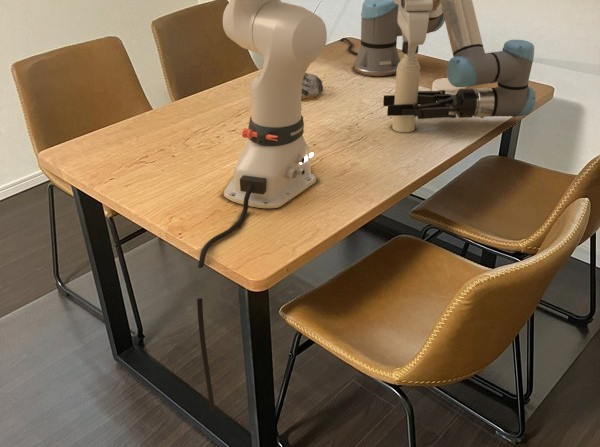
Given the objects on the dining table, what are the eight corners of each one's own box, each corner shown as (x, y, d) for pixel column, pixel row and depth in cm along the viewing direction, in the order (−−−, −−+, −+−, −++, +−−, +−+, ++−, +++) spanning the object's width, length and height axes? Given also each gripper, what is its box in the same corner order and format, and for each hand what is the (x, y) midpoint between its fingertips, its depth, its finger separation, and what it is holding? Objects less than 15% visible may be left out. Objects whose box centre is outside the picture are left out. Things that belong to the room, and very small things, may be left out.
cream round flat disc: (427, 89, 189) (428, 78, 188) (459, 87, 190) (460, 76, 188) (437, 101, 181) (438, 89, 179) (470, 99, 182) (471, 88, 180)
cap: (416, 49, 157) (416, 41, 155) (419, 54, 153) (420, 46, 152) (400, 50, 156) (401, 42, 155) (403, 54, 153) (404, 46, 152)
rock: (327, 94, 187) (327, 70, 183) (303, 102, 181) (302, 79, 177) (294, 83, 196) (293, 61, 192) (270, 91, 190) (268, 68, 186)
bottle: (396, 122, 169) (402, 42, 157) (417, 125, 167) (425, 45, 155) (389, 130, 165) (395, 48, 153) (410, 133, 162) (418, 51, 151)
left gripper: (393, -14, 156) (390, 40, 164) (406, 5, 139) (402, 65, 147) (418, -15, 157) (414, 40, 164) (434, 4, 139) (428, 65, 147)
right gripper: (481, 130, 157) (390, 133, 156) (462, 103, 173) (379, 105, 172) (486, 102, 153) (392, 105, 152) (465, 76, 169) (380, 79, 168)
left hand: (408, 52), depth 155 cm, fingers open, 6 cm apart
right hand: (385, 105), depth 162 cm, fingers closed on bottle, 6 cm apart
